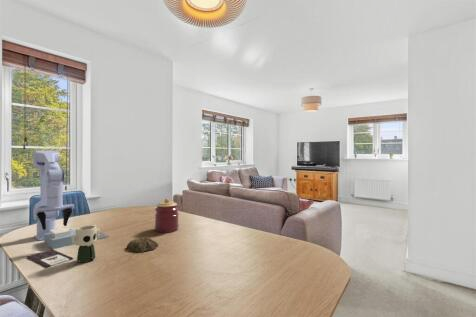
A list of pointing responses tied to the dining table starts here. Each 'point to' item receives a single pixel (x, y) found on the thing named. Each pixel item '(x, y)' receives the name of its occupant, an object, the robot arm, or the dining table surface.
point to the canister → (166, 216)
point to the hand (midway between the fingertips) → (54, 227)
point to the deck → (59, 240)
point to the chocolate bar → (49, 258)
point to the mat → (102, 236)
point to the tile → (59, 232)
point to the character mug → (86, 242)
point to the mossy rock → (142, 244)
